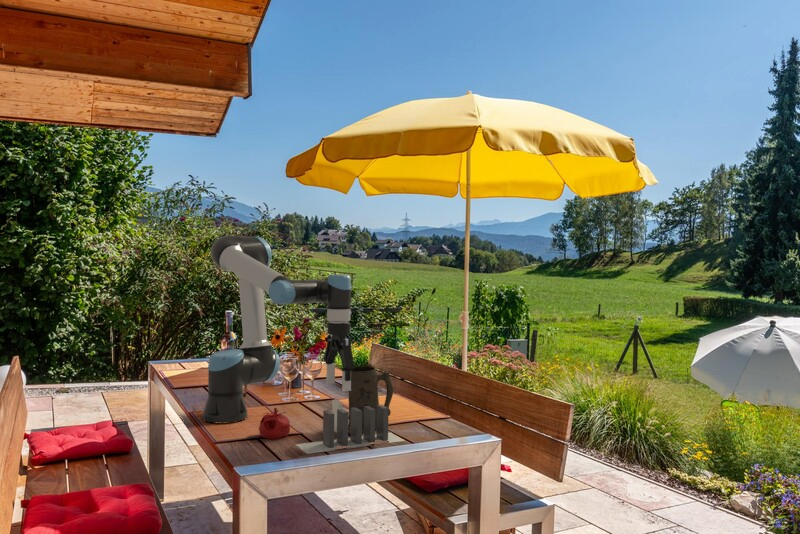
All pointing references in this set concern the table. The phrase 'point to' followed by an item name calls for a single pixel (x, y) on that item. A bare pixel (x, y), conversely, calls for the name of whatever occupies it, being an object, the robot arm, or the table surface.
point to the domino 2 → (335, 406)
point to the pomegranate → (274, 425)
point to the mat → (320, 447)
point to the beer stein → (367, 390)
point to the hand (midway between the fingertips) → (338, 387)
